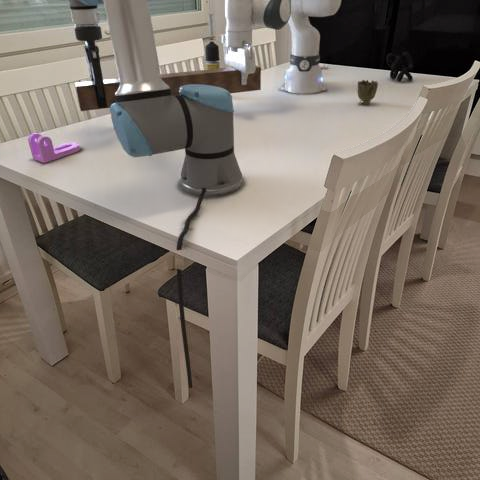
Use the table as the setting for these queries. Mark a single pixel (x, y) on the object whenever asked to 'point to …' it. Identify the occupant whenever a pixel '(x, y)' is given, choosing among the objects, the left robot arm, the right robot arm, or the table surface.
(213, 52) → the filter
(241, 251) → the table surface
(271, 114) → the table surface
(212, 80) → the post
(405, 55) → the squiggle
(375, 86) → the cup
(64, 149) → the bracket
